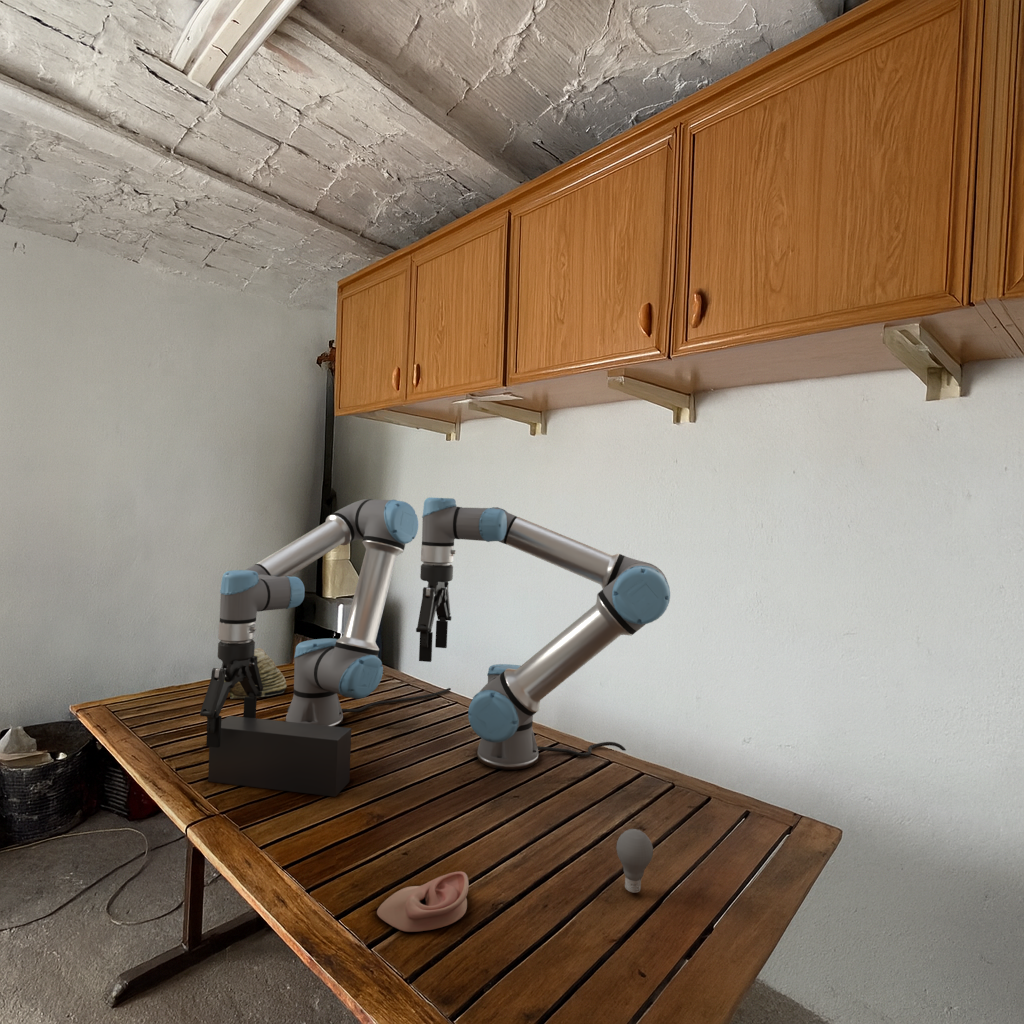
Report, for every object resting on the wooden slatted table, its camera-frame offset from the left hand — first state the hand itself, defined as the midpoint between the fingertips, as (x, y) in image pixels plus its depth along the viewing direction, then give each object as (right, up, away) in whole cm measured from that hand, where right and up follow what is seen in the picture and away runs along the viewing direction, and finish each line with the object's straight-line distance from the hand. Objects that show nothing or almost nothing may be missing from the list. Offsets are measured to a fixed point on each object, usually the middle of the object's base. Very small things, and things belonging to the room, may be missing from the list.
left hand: (232, 735), depth 141 cm
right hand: (+44, +16, +7) cm, 48 cm away
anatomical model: (+49, -12, -42) cm, 66 cm away
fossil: (-18, -7, +57) cm, 60 cm away
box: (+11, -10, -1) cm, 15 cm away
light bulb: (+83, -14, -35) cm, 91 cm away
